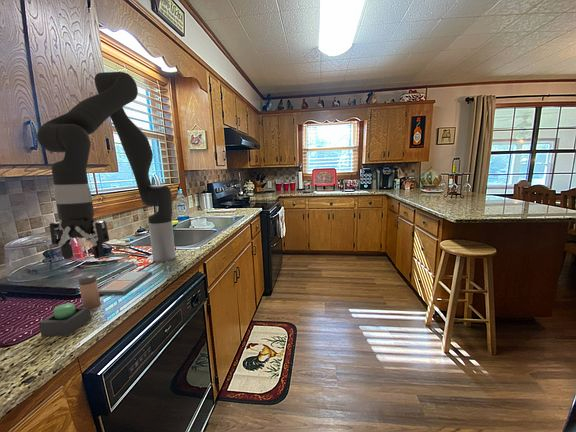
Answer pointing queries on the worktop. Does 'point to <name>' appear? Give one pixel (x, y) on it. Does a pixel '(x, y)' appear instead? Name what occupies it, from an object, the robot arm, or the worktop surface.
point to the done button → (64, 310)
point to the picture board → (124, 282)
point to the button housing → (65, 323)
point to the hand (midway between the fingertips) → (83, 257)
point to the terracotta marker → (89, 291)
